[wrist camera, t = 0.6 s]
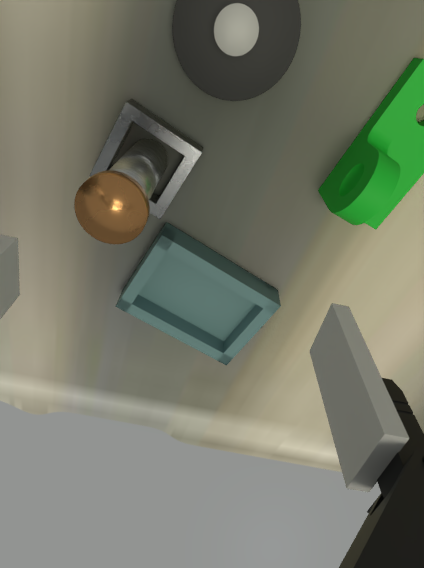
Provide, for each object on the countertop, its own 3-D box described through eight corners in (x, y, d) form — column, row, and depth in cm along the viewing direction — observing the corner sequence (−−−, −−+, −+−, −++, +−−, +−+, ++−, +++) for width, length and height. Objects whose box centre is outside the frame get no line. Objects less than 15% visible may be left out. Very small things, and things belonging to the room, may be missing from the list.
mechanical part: (369, 221, 38) (399, 260, 31) (317, 189, 37) (337, 223, 30) (469, 100, 32) (533, 115, 26) (412, 58, 31) (464, 62, 24)
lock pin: (115, 165, 36) (63, 220, 25) (138, 121, 34) (92, 160, 23) (158, 192, 37) (126, 256, 26) (182, 151, 35) (159, 201, 24)
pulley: (155, 51, 31) (145, 52, 28) (219, -77, 27) (217, -95, 24) (249, 119, 34) (251, 129, 30) (321, 11, 30) (333, 6, 26)
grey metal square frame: (96, 169, 36) (89, 175, 35) (131, 98, 33) (126, 101, 31) (163, 211, 38) (160, 219, 36) (203, 147, 35) (201, 152, 33)
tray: (122, 290, 43) (115, 306, 40) (166, 222, 39) (161, 234, 36) (226, 347, 46) (226, 365, 44) (277, 289, 42) (280, 305, 39)
